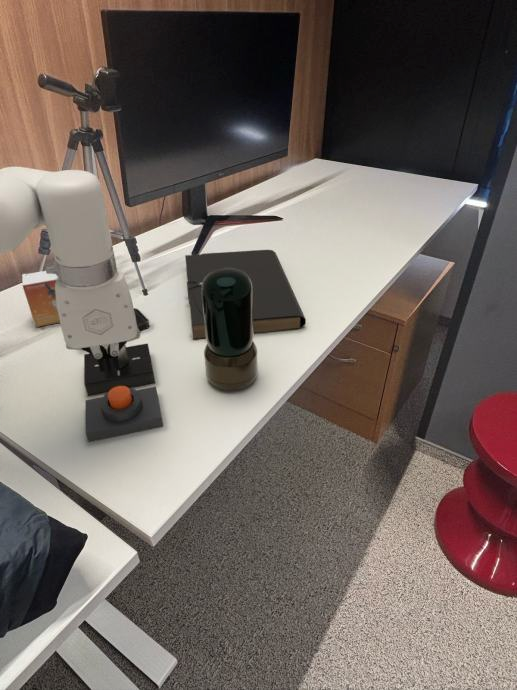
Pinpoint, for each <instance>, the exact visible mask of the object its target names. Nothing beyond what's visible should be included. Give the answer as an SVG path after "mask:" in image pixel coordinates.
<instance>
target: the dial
mask: <svg viewBox="0 0 517 690" xmlns="http://www.w3.org/2000/svg"><path fill="white" fill-rule="evenodd" d="M102 346H103V347H105V349H106V350H107V348H108V346H109V344H105V345H102ZM126 347H127V345H126V344H125V345H124V346H123V347H122V349H121V350H120V351H119V354H118V358H119V362H120V368H122V367H124V366H125V365H127V363H128V361H129V359H128V355H127V350H126ZM107 354H108V353H107Z"/></svg>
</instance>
